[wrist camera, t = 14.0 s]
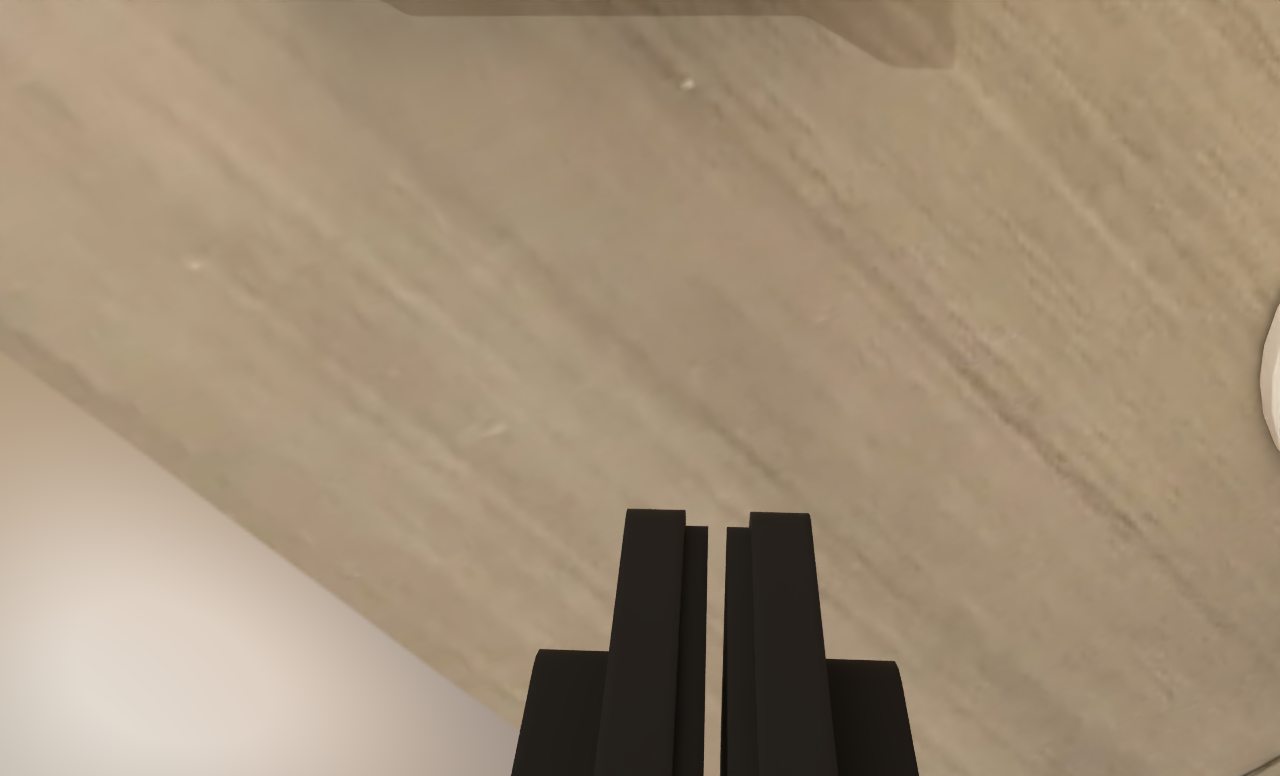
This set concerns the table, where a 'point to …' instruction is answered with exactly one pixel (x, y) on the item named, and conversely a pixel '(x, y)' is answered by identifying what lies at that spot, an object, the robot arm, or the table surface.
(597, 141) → the table surface
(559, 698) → the robot arm
